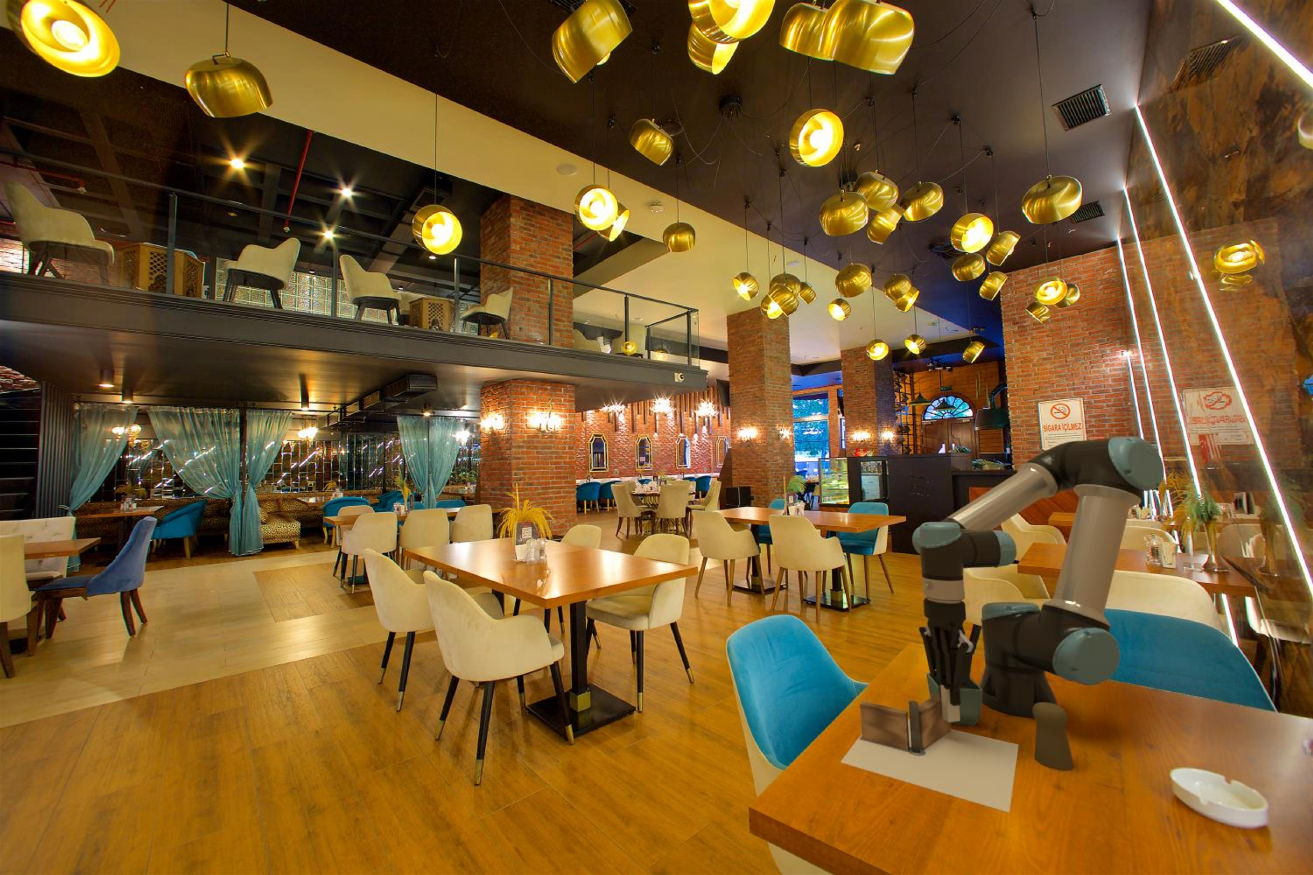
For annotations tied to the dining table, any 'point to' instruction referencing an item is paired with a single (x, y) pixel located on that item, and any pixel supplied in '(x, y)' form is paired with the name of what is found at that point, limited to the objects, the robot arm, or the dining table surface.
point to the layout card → (947, 766)
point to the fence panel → (931, 721)
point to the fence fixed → (891, 725)
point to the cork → (1052, 737)
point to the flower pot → (963, 700)
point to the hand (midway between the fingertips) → (951, 719)
